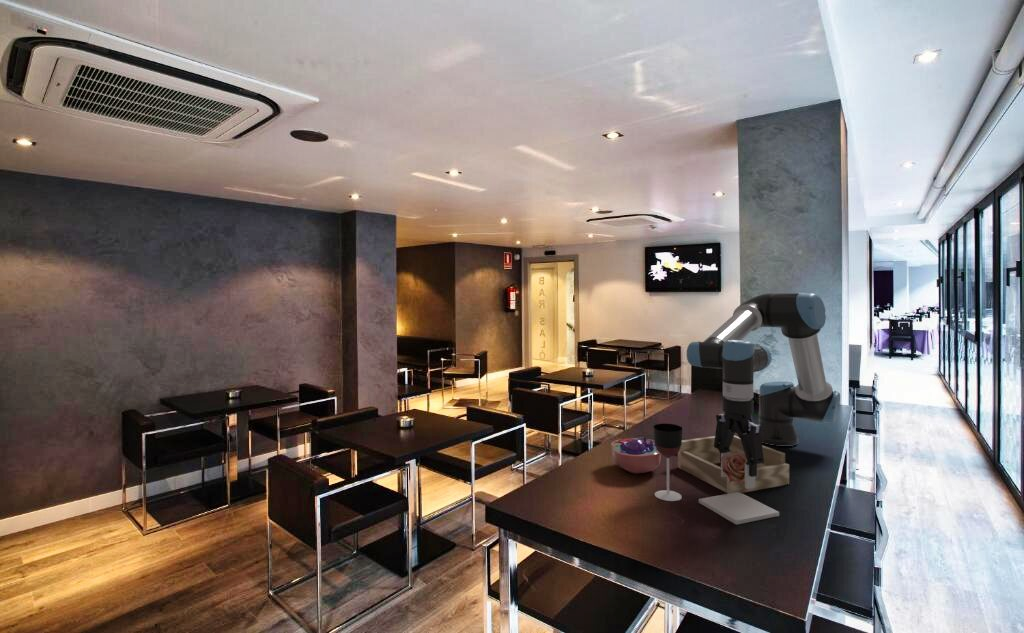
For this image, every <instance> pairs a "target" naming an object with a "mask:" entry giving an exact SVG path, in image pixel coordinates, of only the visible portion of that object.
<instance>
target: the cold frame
mask: <svg viewBox="0 0 1024 633" xmlns="http://www.w3.org/2000/svg"><path fill="white" fill-rule="evenodd" d="M688 439H689V440H682V443H681V447H680V450H679V452H678V455H677V468H679V469H680V470H682V471H684V472H686V473H688V474H690V475H691V476H694V477H696V478H697V479H699V480H701V481H704V482H705V483H707V484H709V485H711V486H713V487H715V488H717V489H719V490H720V491H722V492H724V493H725V494H729V493H735V492H740V493H742V494H744V493H748V492H754V491H759V490H764V489H766V490H767V489H770V488H776V487H783V486H786V485H787V484H788V485H790V464H789V463H786V453H785V452H783V451H779V450H776V449H774V448H771V447H768V446H767V445H766V446H765V445H764V444H762V449H763V457H764V463H761V464H757V476H755V487H754V488H749V489H746V488H745V484H743V482H741V481H735V482H733V481H732V482H730V479H729V478H728V477H721V466H718V465H717V464H721V463H720V452H719V450H718V449H717V448H715V447H714V441H715V435H713V436H705V437H697V438H688ZM719 443H720V442H719ZM729 449H730V450H731V451H727V452H730V453H731V454H732V453H734V452H736V451H737V452H738V453H742V454H745V452H744V449H743V445H742V442H741V439H740V438H739V437H738V435H736V434H734V437H733V440H732V443H731V445H730V448H729ZM751 459H753V458H751ZM719 469H720V470H719ZM729 482H730V483H729Z"/></svg>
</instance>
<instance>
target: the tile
mask: <svg viewBox="0 0 1024 633" xmlns="http://www.w3.org/2000/svg"><path fill="white" fill-rule="evenodd" d="M698 503H699V504H700V505H702V506H704V507H706V508H707V509H709V510H711V511H713V512H714V513H716V514H717V515H719V516H721V517H722V518H724V519H726V520H728V521H729V522H730V523H732V524H734V525H741V524H747V523H751V522H756V521H760V520H765V519H770V518H775V517H780V511H778V510H776V509H774V508H772V507H770V506H768V505H766V504H764V503H762V502H760V501H758V500H757V499H754V498H752V497H750V496H748V495H747V494H744V493H740V492H735V493H729V494H728V493H724V494H721V495H715V496H714V495H713V496H706V497H703V498H698Z"/></svg>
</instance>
